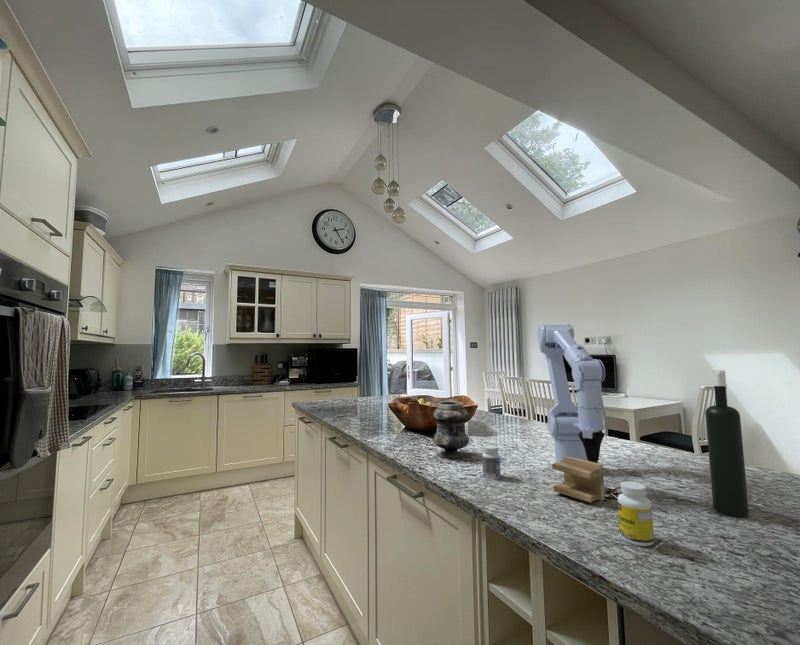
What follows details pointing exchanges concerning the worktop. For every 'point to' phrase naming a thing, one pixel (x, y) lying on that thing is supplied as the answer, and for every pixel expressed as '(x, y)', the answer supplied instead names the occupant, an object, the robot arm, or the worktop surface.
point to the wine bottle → (726, 453)
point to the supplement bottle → (635, 514)
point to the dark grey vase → (450, 429)
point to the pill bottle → (491, 462)
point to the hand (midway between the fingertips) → (593, 462)
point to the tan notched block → (580, 479)
